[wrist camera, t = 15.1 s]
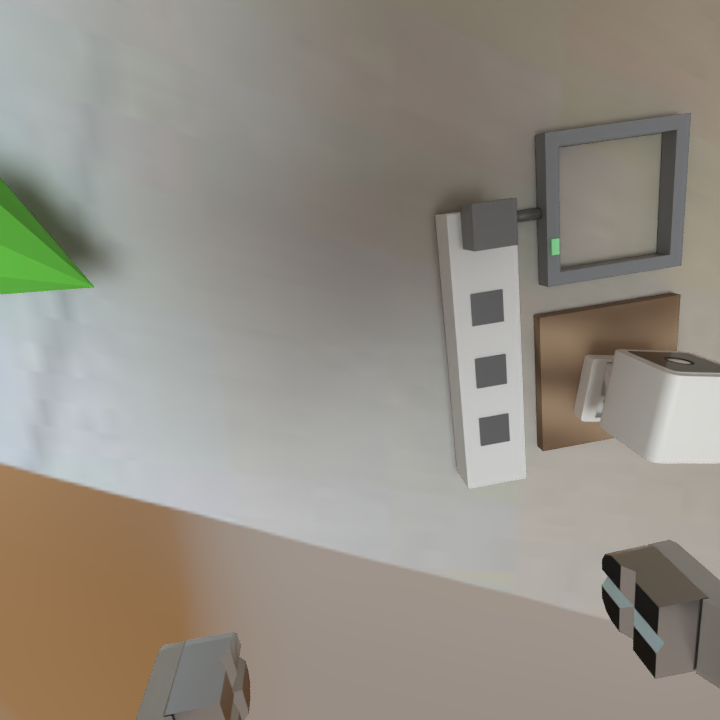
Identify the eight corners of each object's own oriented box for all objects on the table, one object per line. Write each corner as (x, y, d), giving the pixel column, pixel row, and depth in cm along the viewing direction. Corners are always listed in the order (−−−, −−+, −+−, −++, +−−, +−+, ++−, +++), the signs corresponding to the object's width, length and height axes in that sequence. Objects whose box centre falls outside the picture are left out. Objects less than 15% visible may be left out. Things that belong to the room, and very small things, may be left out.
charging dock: (535, 136, 35) (547, 131, 34) (675, 116, 36) (694, 111, 34) (539, 284, 39) (550, 287, 37) (667, 263, 39) (684, 265, 38)
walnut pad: (533, 315, 39) (539, 317, 38) (671, 292, 40) (680, 294, 39) (537, 445, 43) (543, 451, 42) (663, 422, 44) (671, 427, 43)
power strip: (434, 208, 36) (456, 206, 31) (544, 192, 37) (583, 187, 31) (457, 470, 43) (478, 505, 38) (549, 453, 43) (582, 485, 38)
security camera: (654, 338, 40) (764, 377, 30) (635, 416, 42) (733, 475, 32) (583, 336, 39) (673, 374, 30) (567, 415, 41) (647, 475, 32)
